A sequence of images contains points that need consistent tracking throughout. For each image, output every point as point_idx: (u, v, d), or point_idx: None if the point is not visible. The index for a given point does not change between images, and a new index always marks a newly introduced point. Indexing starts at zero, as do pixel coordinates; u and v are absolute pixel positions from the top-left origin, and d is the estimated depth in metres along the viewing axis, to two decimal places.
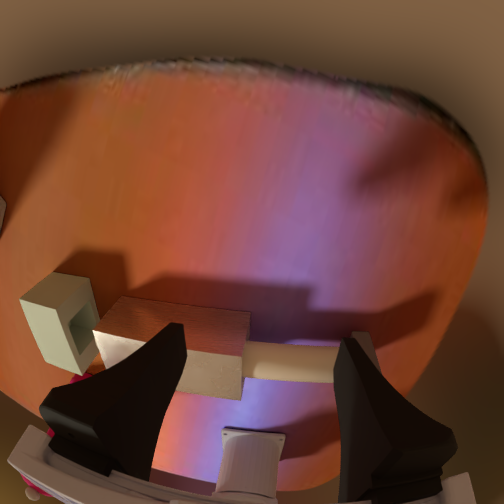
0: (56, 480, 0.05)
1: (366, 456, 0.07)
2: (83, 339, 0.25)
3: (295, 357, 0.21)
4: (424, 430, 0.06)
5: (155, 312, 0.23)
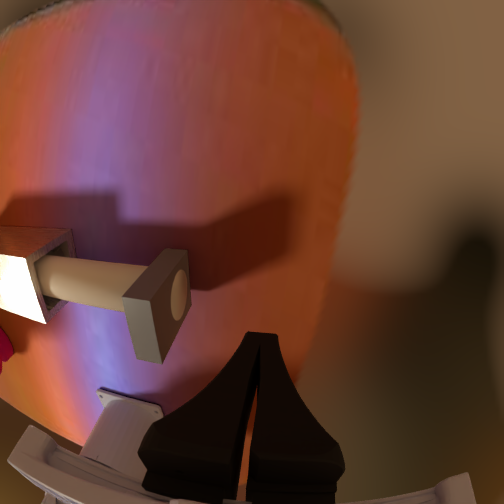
0: (56, 480, 0.05)
1: None
2: None
3: (83, 270, 0.16)
4: (302, 438, 0.06)
5: (3, 232, 0.18)
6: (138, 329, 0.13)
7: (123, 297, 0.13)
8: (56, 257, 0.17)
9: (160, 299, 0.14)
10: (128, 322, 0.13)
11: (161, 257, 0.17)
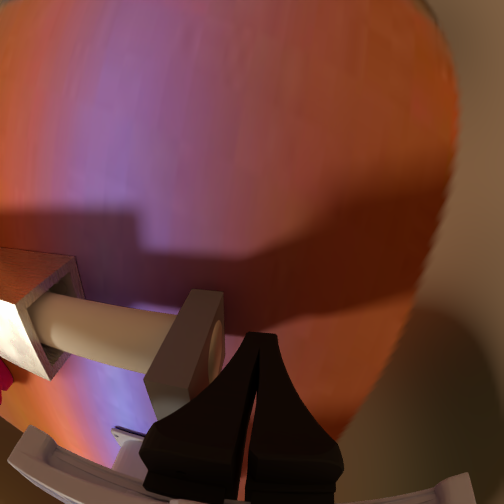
0: (56, 480, 0.05)
1: None
2: None
3: (83, 318, 0.12)
4: (301, 438, 0.06)
5: None
6: (169, 414, 0.09)
7: (146, 380, 0.08)
8: (47, 295, 0.13)
9: (198, 376, 0.09)
10: (154, 406, 0.09)
11: (189, 305, 0.12)
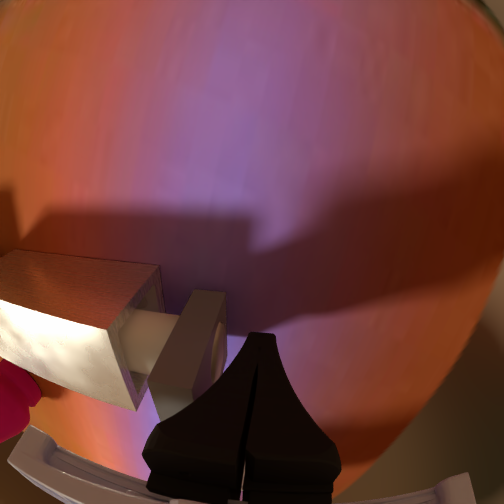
0: (56, 480, 0.05)
1: None
2: None
3: None
4: (298, 438, 0.06)
5: (34, 265, 0.14)
6: (172, 415, 0.09)
7: (149, 381, 0.08)
8: None
9: (201, 376, 0.09)
10: (157, 407, 0.09)
11: (192, 305, 0.12)
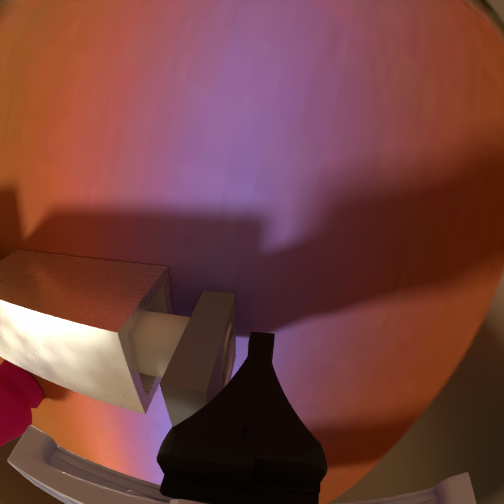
0: (56, 480, 0.05)
1: None
2: None
3: None
4: (284, 437, 0.06)
5: (39, 265, 0.13)
6: (184, 418, 0.09)
7: (162, 384, 0.08)
8: None
9: (214, 378, 0.09)
10: (169, 410, 0.09)
11: (202, 306, 0.12)
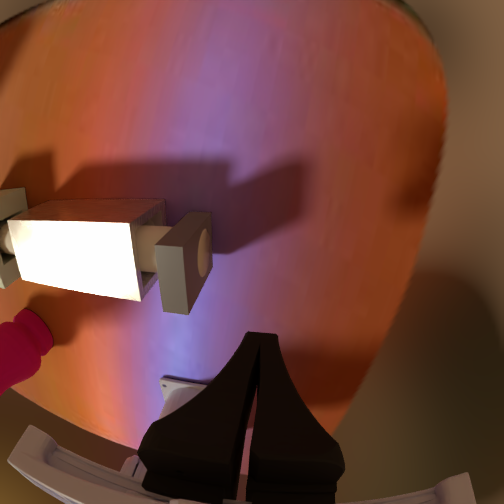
0: (56, 480, 0.05)
1: None
2: None
3: None
4: (302, 438, 0.06)
5: (69, 204, 0.19)
6: (168, 278, 0.15)
7: (156, 245, 0.14)
8: None
9: (190, 249, 0.15)
10: (158, 271, 0.15)
11: (187, 217, 0.18)
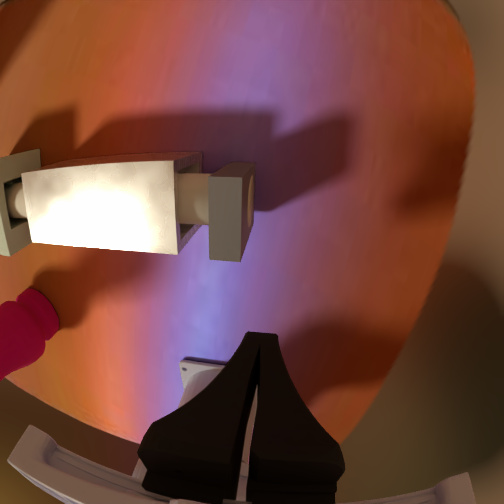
0: (56, 480, 0.05)
1: None
2: (22, 220, 0.20)
3: None
4: (302, 438, 0.06)
5: (93, 158, 0.18)
6: (220, 216, 0.13)
7: (210, 177, 0.13)
8: None
9: (245, 186, 0.14)
10: (210, 208, 0.13)
11: (232, 164, 0.17)
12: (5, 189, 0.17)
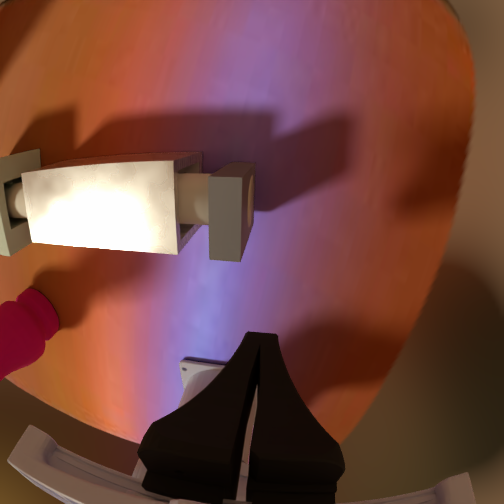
0: (56, 480, 0.05)
1: None
2: (22, 220, 0.20)
3: None
4: (302, 438, 0.06)
5: (93, 158, 0.18)
6: (220, 216, 0.13)
7: (210, 177, 0.13)
8: None
9: (245, 186, 0.14)
10: (210, 208, 0.13)
11: (232, 164, 0.17)
12: (5, 189, 0.17)
